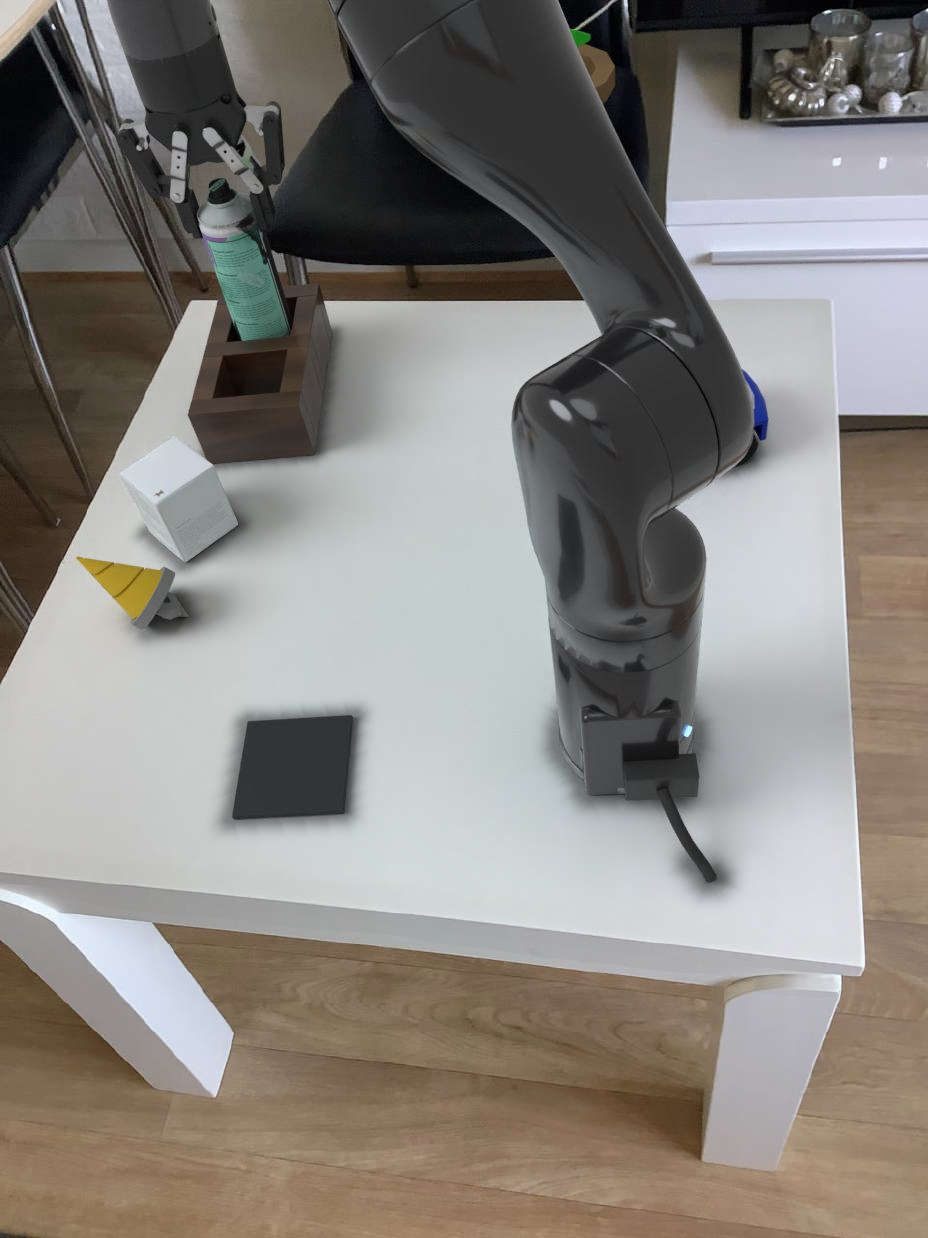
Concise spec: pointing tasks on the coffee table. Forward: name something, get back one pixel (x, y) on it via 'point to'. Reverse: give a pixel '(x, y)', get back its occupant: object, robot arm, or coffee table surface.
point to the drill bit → (137, 589)
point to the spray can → (243, 264)
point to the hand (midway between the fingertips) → (233, 229)
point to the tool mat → (294, 767)
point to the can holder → (263, 385)
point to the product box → (180, 498)
